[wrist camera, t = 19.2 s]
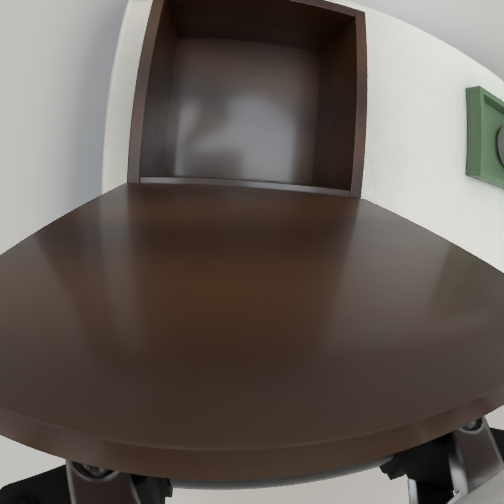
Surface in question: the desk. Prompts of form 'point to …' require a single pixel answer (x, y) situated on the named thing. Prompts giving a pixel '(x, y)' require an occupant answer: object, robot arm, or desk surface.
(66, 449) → the lid
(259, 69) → the box
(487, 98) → the tray
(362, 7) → the desk surface
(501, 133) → the beverage can
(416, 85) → the desk surface
